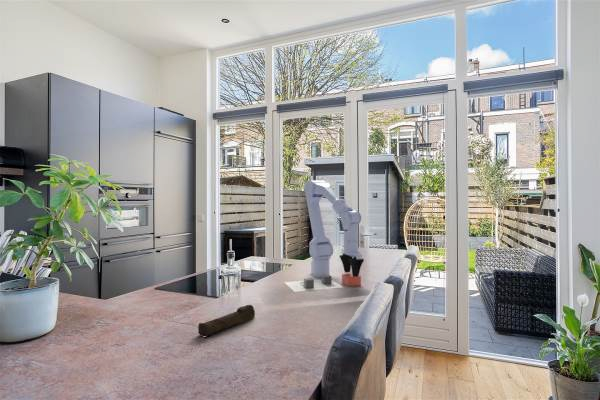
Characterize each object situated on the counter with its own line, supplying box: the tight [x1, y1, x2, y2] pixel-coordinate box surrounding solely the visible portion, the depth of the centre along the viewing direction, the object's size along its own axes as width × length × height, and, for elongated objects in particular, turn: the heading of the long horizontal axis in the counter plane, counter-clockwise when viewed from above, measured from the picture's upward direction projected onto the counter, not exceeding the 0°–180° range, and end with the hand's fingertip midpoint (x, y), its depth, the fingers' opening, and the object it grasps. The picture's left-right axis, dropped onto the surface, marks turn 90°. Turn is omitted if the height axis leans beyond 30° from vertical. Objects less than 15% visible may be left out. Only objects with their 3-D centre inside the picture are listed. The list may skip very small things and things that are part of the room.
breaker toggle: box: [303, 277, 315, 288], centre depth 133 cm, size 3×3×3 cm
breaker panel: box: [284, 275, 344, 293], centre depth 138 cm, size 15×20×4 cm
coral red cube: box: [341, 272, 362, 287], centre depth 139 cm, size 6×6×5 cm
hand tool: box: [197, 304, 256, 338], centre depth 98 cm, size 19×4×5 cm, turn 139°
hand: (351, 274), depth 139 cm, fingers open, 7 cm apart
